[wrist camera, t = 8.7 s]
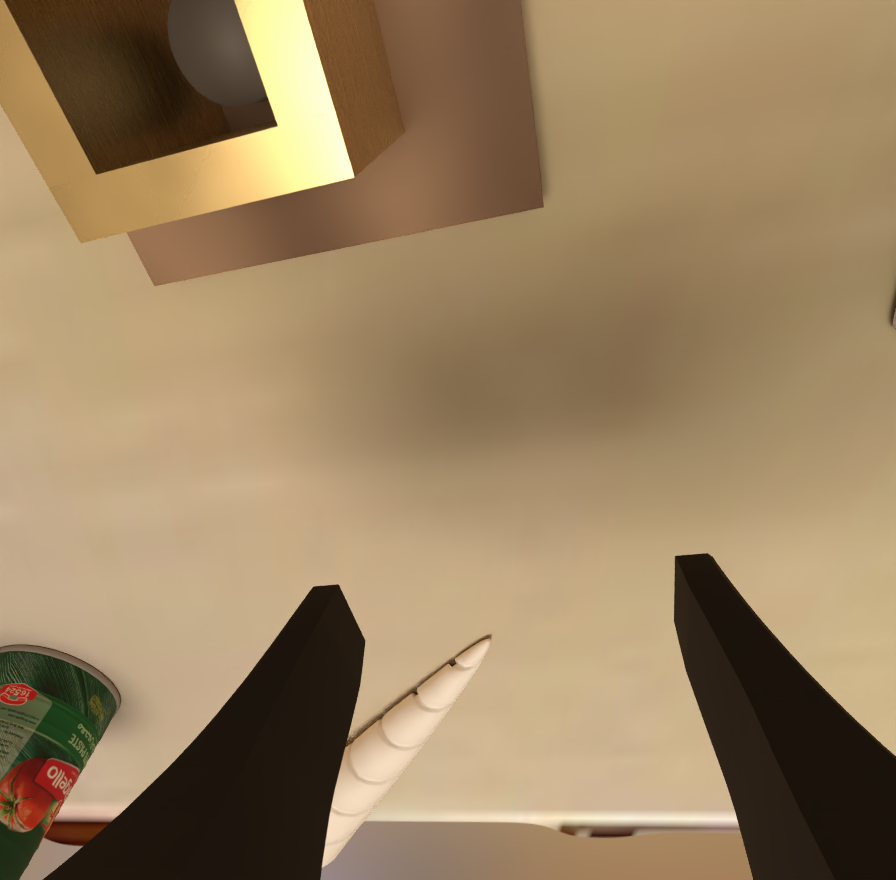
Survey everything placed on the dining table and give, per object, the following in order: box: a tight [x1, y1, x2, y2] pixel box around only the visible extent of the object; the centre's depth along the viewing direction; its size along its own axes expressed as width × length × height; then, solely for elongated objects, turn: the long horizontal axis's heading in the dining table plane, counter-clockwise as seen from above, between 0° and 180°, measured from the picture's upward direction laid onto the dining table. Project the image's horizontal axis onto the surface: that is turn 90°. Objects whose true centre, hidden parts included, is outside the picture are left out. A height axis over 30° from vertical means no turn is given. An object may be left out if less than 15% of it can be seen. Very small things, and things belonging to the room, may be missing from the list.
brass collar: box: [0, 0, 405, 243], centre depth 11 cm, size 6×6×6 cm
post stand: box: [127, 0, 544, 286], centre depth 13 cm, size 12×10×4 cm
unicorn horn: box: [322, 639, 491, 868], centre depth 33 cm, size 5×24×5 cm, turn 147°
